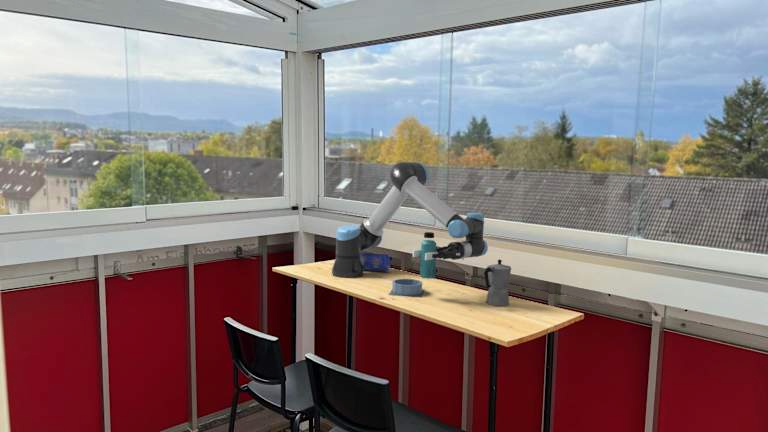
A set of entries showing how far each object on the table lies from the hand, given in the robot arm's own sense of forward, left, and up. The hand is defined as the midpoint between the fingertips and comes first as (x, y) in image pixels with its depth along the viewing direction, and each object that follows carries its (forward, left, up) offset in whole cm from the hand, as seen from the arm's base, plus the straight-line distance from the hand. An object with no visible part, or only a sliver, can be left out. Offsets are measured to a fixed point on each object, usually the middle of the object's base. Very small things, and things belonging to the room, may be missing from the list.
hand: (419, 255), depth 231 cm
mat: (-6, +11, -19) cm, 22 cm away
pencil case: (-31, +51, -19) cm, 62 cm away
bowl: (-6, +11, -18) cm, 22 cm away
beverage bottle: (+3, +4, -11) cm, 12 cm away
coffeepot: (+31, +3, -19) cm, 36 cm away
